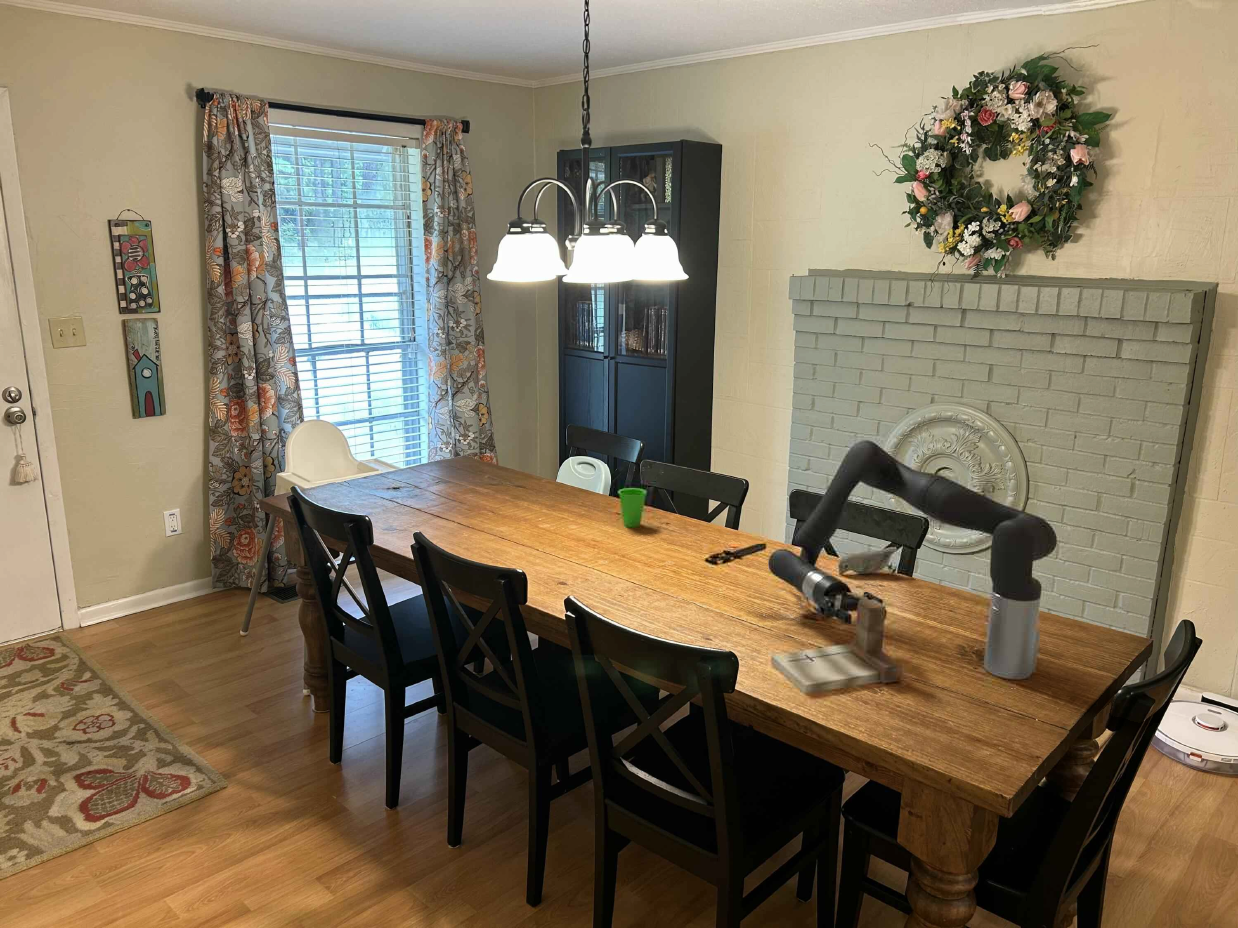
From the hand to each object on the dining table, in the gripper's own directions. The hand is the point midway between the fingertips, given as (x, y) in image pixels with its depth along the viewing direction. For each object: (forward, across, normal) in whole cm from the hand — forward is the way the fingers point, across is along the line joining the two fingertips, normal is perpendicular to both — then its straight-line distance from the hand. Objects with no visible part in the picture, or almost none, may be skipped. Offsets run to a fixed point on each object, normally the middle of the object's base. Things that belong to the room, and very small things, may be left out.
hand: (867, 617), depth 191 cm
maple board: (+1, -8, +10) cm, 13 cm away
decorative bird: (-47, +33, +11) cm, 58 cm away
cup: (-108, -13, +10) cm, 109 cm away
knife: (-73, +7, +11) cm, 74 cm away
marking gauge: (+4, 0, +10) cm, 11 cm away
